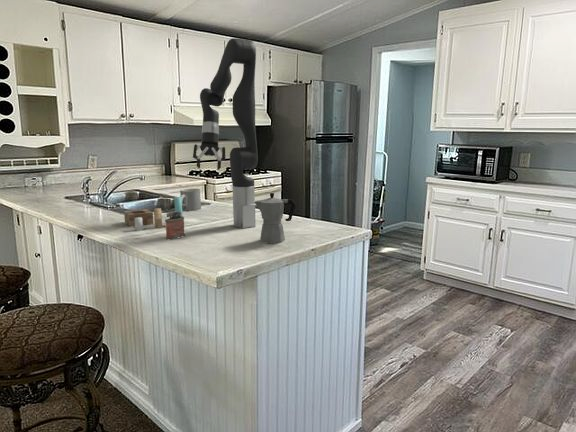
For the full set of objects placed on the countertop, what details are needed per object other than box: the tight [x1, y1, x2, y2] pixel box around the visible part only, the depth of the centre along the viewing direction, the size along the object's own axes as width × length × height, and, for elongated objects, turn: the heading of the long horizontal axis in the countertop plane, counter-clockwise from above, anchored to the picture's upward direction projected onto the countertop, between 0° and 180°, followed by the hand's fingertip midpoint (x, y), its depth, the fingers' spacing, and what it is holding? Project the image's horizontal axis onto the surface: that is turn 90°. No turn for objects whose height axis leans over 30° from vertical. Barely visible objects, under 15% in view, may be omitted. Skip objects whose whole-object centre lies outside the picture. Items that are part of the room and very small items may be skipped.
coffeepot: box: [254, 192, 297, 244], centre depth 159 cm, size 15×9×18 cm, turn 90°
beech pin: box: [153, 207, 163, 229], centre depth 182 cm, size 3×3×8 cm
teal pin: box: [174, 196, 184, 217], centre depth 186 cm, size 3×3×12 cm
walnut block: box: [123, 208, 155, 228], centre depth 190 cm, size 10×10×5 cm
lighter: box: [164, 210, 186, 240], centre depth 165 cm, size 8×3×10 cm, turn 141°
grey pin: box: [134, 217, 144, 232], centre depth 178 cm, size 3×3×5 cm
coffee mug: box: [179, 188, 202, 212], centre depth 220 cm, size 13×10×10 cm
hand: (208, 169), depth 193 cm, fingers open, 8 cm apart
